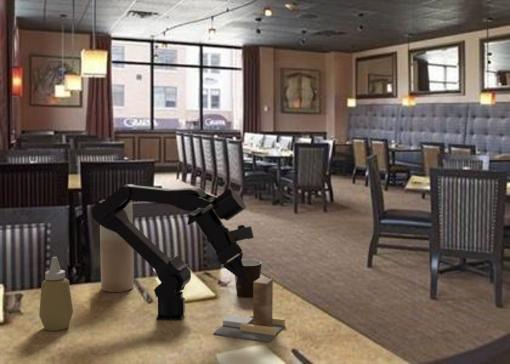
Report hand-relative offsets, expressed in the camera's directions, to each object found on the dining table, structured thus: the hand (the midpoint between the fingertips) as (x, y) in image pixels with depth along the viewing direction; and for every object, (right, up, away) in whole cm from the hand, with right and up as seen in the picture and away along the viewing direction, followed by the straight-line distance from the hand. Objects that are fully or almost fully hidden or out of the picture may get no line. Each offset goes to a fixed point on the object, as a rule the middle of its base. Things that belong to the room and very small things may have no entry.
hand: (247, 280), depth 143 cm
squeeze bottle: (-48, -11, -3) cm, 49 cm away
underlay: (+1, -12, -4) cm, 12 cm away
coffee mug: (0, -9, +27) cm, 29 cm away
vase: (-41, -8, +32) cm, 53 cm away
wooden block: (+4, -11, -3) cm, 12 cm away
